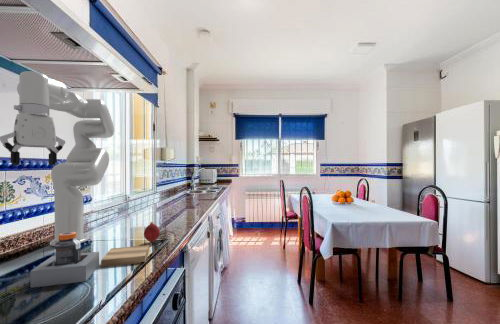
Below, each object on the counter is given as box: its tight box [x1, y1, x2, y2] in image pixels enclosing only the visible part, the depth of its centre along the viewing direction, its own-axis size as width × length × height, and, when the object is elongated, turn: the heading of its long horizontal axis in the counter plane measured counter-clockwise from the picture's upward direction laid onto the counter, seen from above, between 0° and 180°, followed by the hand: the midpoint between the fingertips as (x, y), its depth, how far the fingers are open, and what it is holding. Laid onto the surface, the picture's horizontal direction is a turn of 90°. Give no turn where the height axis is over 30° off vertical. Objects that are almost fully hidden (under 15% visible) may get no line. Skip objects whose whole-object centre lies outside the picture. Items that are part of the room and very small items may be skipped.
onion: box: [143, 221, 161, 244], centre depth 104 cm, size 6×6×8 cm
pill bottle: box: [53, 232, 82, 266], centre depth 73 cm, size 6×6×11 cm
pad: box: [100, 244, 150, 268], centre depth 86 cm, size 12×12×2 cm
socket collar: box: [29, 251, 100, 288], centre depth 73 cm, size 12×12×4 cm
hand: (34, 165), depth 86 cm, fingers open, 9 cm apart
